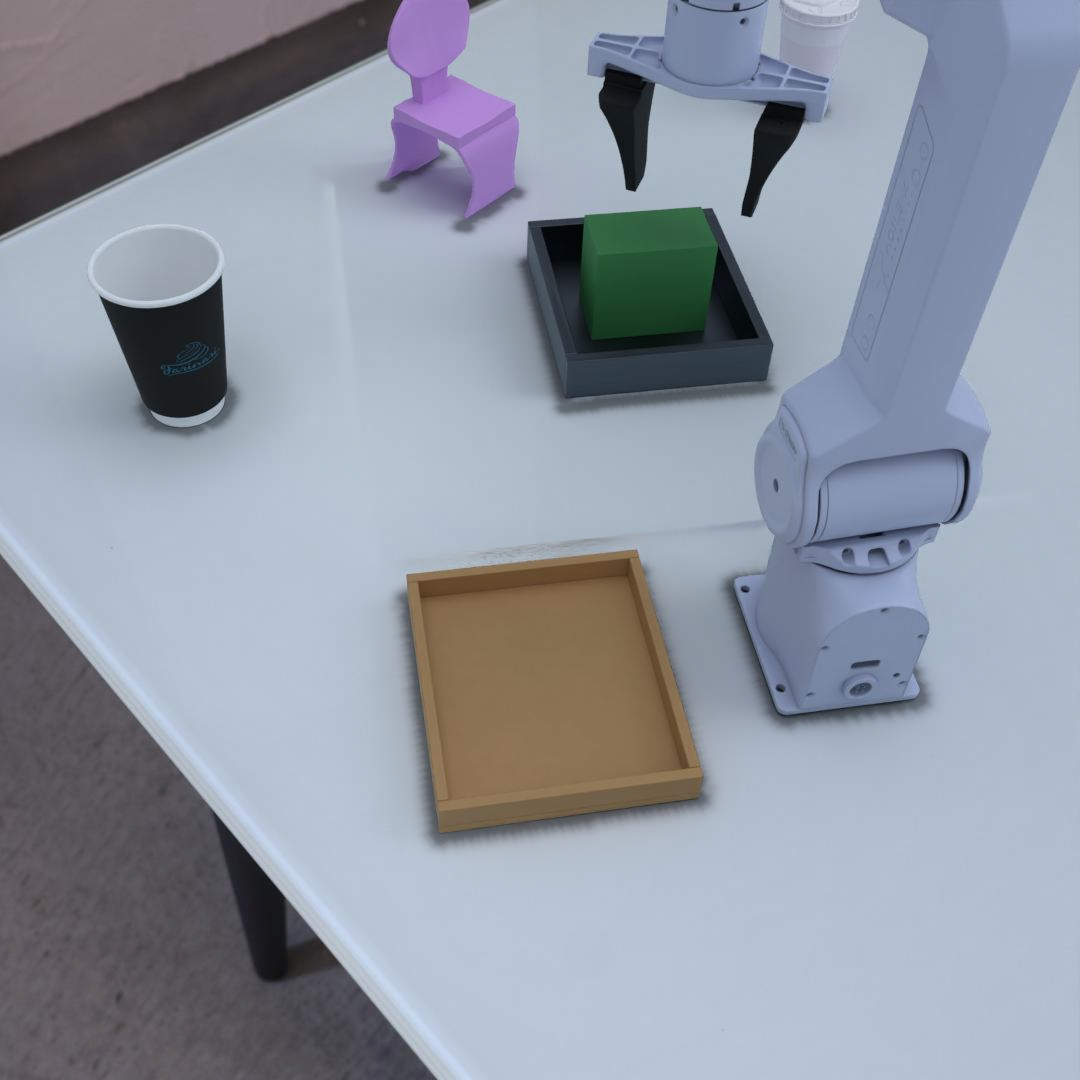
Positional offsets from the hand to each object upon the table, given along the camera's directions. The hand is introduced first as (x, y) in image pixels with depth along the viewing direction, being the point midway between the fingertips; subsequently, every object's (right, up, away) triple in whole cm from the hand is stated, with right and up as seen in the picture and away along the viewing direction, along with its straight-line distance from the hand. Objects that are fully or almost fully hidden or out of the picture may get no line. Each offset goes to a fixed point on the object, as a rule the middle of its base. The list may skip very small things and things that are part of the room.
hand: (691, 195), depth 85 cm
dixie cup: (-33, -13, +1) cm, 35 cm away
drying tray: (-10, -30, -14) cm, 35 cm away
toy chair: (-17, +5, +18) cm, 25 cm away
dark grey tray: (-3, -7, +7) cm, 11 cm away
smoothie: (+12, +15, +28) cm, 34 cm away
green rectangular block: (-3, -7, +7) cm, 10 cm away
